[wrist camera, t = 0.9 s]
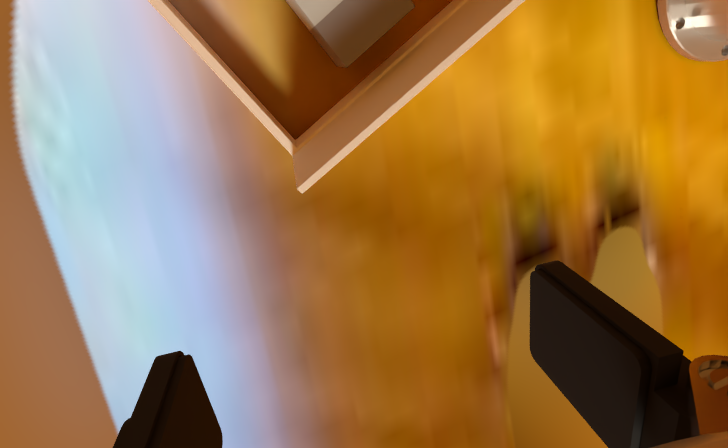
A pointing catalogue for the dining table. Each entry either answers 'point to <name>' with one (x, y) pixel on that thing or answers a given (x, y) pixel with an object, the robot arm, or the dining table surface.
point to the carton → (362, 82)
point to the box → (349, 24)
